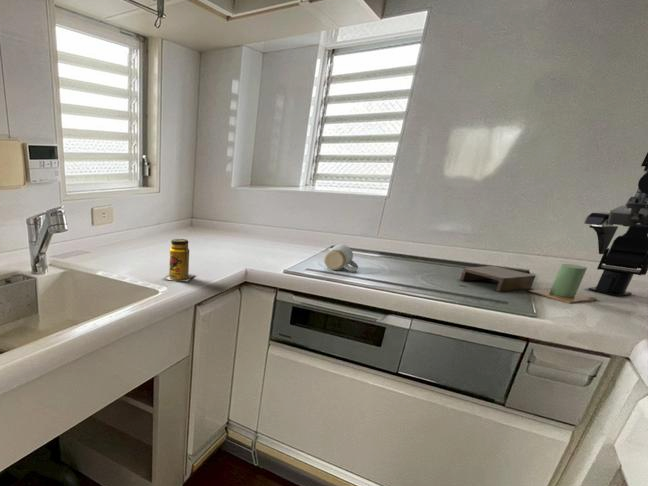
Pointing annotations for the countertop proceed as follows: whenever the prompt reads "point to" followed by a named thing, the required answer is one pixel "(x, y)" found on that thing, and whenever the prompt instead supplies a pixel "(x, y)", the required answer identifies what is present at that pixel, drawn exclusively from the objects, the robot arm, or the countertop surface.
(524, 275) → the shelf
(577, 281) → the spice tin
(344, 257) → the ceramic mug
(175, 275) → the condiment
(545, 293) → the cork pad
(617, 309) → the countertop surface
